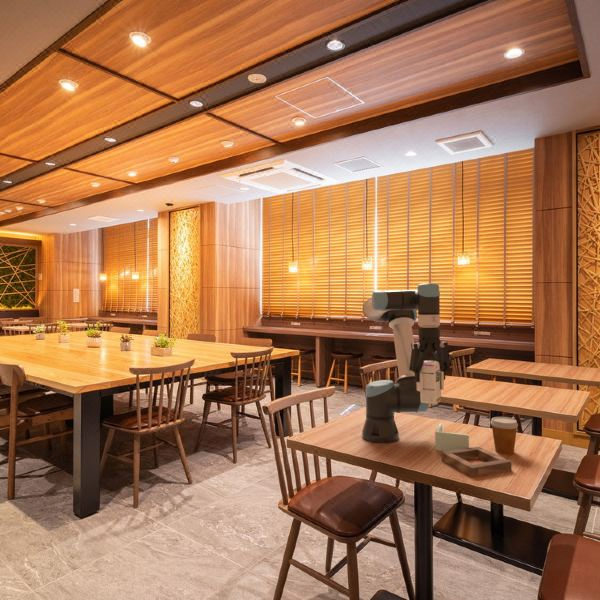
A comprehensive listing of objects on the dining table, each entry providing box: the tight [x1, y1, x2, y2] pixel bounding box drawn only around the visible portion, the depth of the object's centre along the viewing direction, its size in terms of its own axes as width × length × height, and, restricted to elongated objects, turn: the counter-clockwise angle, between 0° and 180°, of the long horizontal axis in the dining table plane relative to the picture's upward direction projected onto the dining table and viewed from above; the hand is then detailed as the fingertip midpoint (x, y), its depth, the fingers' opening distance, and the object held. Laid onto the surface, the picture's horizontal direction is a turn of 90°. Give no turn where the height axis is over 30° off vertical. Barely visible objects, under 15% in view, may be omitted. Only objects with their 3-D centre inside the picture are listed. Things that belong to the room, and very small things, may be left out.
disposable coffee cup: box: [489, 416, 519, 456], centre depth 165 cm, size 10×10×12 cm
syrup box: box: [420, 360, 442, 405], centre depth 157 cm, size 6×6×14 cm
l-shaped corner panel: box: [434, 423, 470, 452], centre depth 171 cm, size 12×12×8 cm
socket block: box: [441, 445, 513, 478], centre depth 152 cm, size 16×16×3 cm
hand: (430, 390), depth 157 cm, fingers closed on syrup box, 8 cm apart
